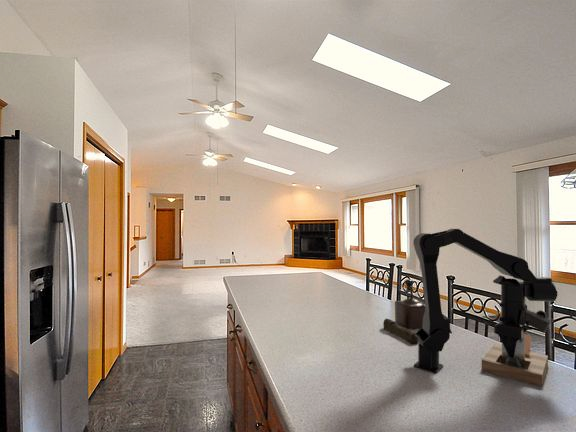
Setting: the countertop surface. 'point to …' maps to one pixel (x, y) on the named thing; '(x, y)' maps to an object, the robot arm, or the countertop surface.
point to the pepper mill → (409, 310)
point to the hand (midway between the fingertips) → (513, 354)
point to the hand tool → (399, 331)
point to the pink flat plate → (527, 344)
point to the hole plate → (529, 373)
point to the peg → (515, 355)
